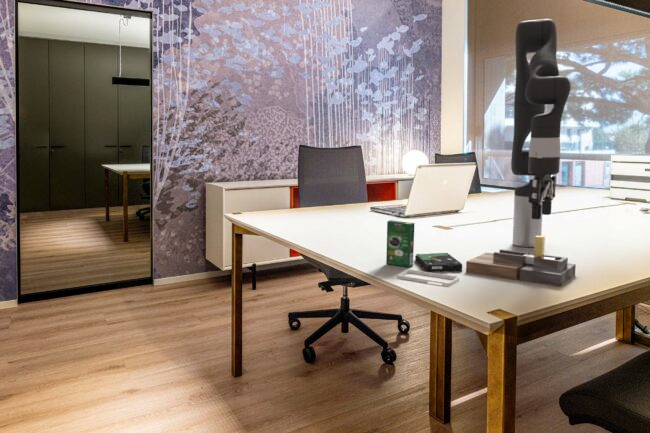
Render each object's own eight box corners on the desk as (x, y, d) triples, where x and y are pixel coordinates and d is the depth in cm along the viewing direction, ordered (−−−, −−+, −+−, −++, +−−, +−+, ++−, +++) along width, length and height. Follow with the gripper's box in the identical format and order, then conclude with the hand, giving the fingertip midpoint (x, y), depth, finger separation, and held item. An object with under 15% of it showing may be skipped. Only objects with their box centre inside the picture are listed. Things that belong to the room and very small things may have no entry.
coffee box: (414, 265, 155) (415, 222, 153) (410, 267, 153) (410, 223, 151) (390, 262, 160) (390, 219, 158) (385, 264, 158) (386, 221, 156)
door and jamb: (485, 262, 158) (486, 244, 158) (575, 275, 143) (576, 255, 142) (466, 271, 148) (466, 252, 147) (560, 286, 132) (561, 265, 131)
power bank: (459, 281, 140) (408, 273, 148) (460, 276, 139) (408, 269, 148) (448, 288, 134) (396, 279, 142) (449, 283, 134) (396, 274, 142)
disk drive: (463, 273, 149) (447, 261, 163) (463, 264, 148) (447, 252, 163) (426, 274, 148) (414, 261, 162) (427, 264, 147) (414, 252, 162)
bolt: (525, 261, 145) (526, 234, 144) (555, 265, 140) (556, 237, 139) (521, 263, 143) (523, 235, 142) (552, 267, 138) (554, 238, 137)
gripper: (538, 153, 145) (535, 212, 148) (520, 156, 134) (517, 219, 137) (567, 154, 140) (563, 214, 143) (551, 156, 129) (547, 221, 132)
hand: (541, 216), depth 140 cm, fingers open, 8 cm apart
